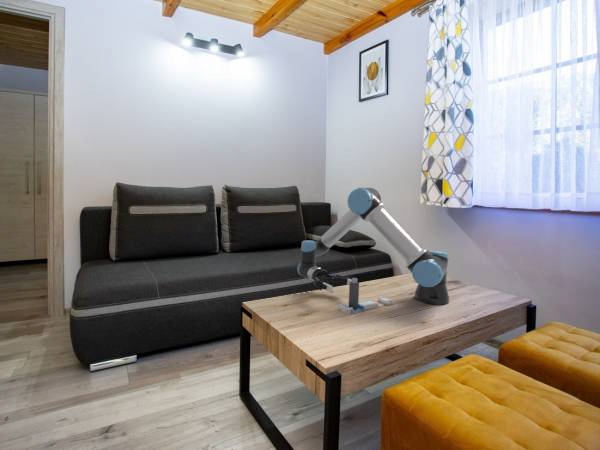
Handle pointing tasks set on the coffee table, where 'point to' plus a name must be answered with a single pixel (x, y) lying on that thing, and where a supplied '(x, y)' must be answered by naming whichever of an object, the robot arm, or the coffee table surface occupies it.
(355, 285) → the cable plug
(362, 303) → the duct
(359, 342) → the coffee table surface
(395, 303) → the coffee table surface
